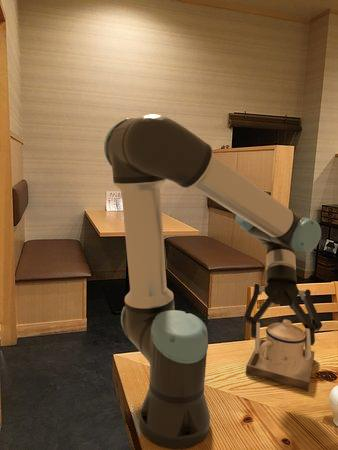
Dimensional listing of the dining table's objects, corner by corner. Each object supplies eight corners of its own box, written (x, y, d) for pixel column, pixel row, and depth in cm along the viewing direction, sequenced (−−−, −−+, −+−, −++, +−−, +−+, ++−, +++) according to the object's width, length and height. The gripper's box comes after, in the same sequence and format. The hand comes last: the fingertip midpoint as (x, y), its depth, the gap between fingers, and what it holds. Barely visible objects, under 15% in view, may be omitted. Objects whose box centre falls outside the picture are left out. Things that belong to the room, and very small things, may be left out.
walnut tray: (245, 373, 102) (246, 365, 102) (259, 345, 118) (260, 338, 118) (308, 391, 96) (309, 382, 95) (313, 359, 112) (314, 351, 111)
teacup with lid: (282, 353, 97) (287, 310, 95) (310, 372, 89) (316, 326, 87) (245, 362, 91) (249, 317, 89) (270, 383, 83) (276, 334, 81)
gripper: (323, 282, 100) (330, 366, 88) (235, 273, 104) (230, 353, 91) (331, 268, 94) (340, 356, 82) (237, 259, 98) (232, 342, 85)
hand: (282, 355), depth 86 cm, fingers closed on teacup with lid, 11 cm apart
